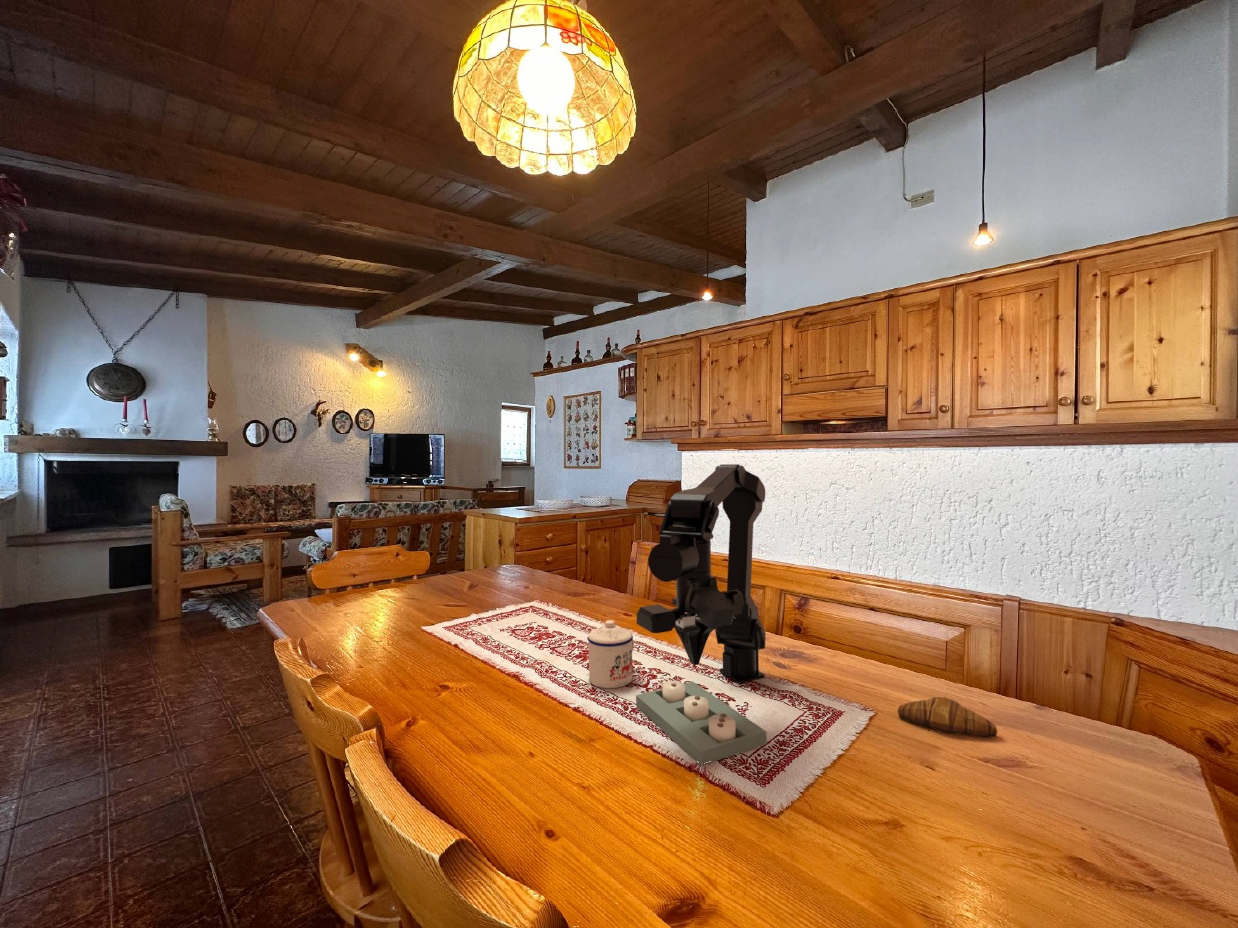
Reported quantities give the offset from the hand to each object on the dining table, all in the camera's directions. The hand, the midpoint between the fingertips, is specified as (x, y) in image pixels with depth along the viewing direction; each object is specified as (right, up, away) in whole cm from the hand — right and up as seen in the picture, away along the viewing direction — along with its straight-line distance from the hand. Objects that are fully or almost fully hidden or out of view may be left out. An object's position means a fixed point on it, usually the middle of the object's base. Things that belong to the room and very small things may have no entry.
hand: (694, 664), depth 85 cm
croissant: (+40, -10, -2) cm, 41 cm away
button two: (0, -9, 0) cm, 9 cm away
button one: (-3, -10, +7) cm, 12 cm away
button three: (+3, -10, -6) cm, 12 cm away
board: (0, -10, 0) cm, 10 cm away
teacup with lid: (-13, -10, +19) cm, 25 cm away
